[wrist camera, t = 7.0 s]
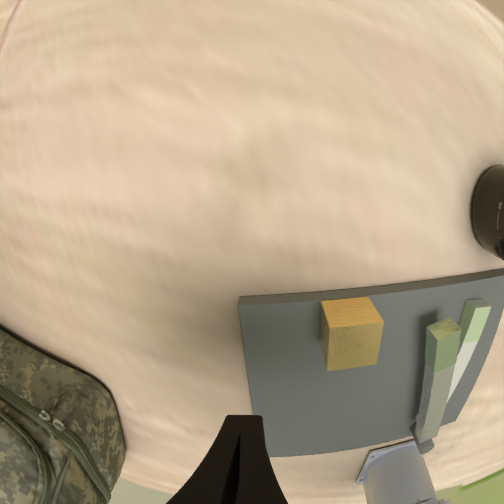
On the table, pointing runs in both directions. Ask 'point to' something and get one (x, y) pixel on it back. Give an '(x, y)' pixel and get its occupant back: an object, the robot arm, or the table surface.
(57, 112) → the table surface
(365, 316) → the yellow wooden cube
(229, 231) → the table surface
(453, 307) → the base
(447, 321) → the bar
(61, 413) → the lunch bag
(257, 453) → the robot arm
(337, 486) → the table surface
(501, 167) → the supplement bottle
